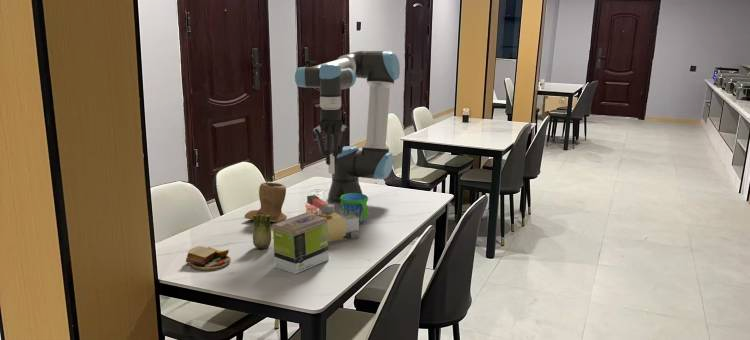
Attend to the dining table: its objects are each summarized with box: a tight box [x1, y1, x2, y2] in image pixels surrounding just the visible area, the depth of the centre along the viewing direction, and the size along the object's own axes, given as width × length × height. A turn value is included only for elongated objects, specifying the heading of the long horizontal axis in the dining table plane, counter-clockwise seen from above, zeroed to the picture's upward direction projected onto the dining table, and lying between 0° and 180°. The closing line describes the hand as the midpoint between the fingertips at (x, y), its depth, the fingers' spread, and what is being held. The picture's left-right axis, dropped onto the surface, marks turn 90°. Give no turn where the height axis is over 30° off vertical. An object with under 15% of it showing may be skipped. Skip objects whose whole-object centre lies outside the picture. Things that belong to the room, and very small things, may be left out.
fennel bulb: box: [252, 215, 272, 250], centre depth 205 cm, size 6×5×12 cm
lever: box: [306, 194, 335, 214], centre depth 216 cm, size 17×4×3 cm, turn 31°
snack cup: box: [339, 193, 369, 225], centre depth 233 cm, size 16×10×10 cm
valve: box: [315, 211, 360, 245], centre depth 212 cm, size 7×22×10 cm, turn 121°
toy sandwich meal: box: [185, 245, 232, 271], centre depth 192 cm, size 12×14×5 cm
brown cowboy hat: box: [243, 181, 288, 223], centre depth 234 cm, size 15×12×15 cm
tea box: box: [272, 212, 330, 275], centre depth 191 cm, size 15×10×15 cm, turn 141°
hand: (331, 172), depth 218 cm, fingers closed
